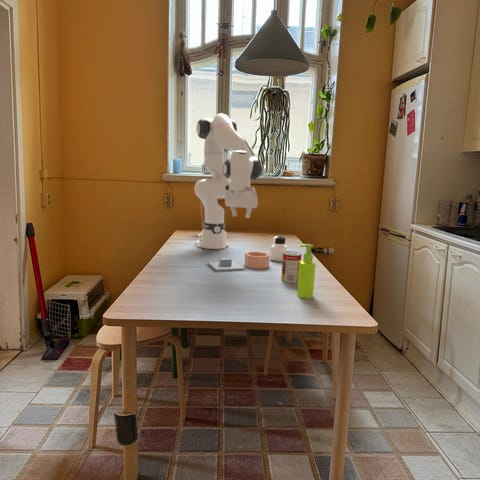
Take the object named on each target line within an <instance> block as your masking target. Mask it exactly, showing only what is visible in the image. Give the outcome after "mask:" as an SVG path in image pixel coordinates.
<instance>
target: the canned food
mask: <svg viewBox="0 0 480 480" xmlns="http://www.w3.org/2000/svg"><path fill="white" fill-rule="evenodd" d="M302 255H303V254H302V252H299V251H293V250H287V251H285V252H283V261H281V262H282V263H281V264H282V266H281V278H280V279H281V281H282V282H284V283H290V284H298V279H299V265H300V261H302Z"/></svg>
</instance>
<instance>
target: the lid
mask: <svg viewBox="0 0 480 480" xmlns="http://www.w3.org/2000/svg"><path fill="white" fill-rule="evenodd" d="M218 260H219V261H214V262H213V261H212V262H211V261H210V262H207V264H208V265H209V266H210V267H212V268H213V269H214V270H215V271H216V272H219V271H236V270H243V268H244V267H243V266H241V265H240V264H239V263H238V262H236V261H235V260H232V258H230V257H221V258H219V259H218ZM238 264H239V265H238ZM236 272H237V271H236ZM219 273H220V272H219Z"/></svg>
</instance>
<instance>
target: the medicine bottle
mask: <svg viewBox="0 0 480 480" xmlns="http://www.w3.org/2000/svg"><path fill="white" fill-rule="evenodd" d="M285 251H288V246H287V245H286V237H284V236H282V235H281V236H280V235H279V236H274V237H273V244H272V245H271V246H270V252H269V253H270V254H269V255H270V259H269V261H276V262H283V252H285Z"/></svg>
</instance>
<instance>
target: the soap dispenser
mask: <svg viewBox="0 0 480 480" xmlns="http://www.w3.org/2000/svg"><path fill="white" fill-rule="evenodd" d="M297 245H298V247H299V248H302V247H305V248H306V251H305V252H304V253H303V259H302V260H301V261H300V265H299V279H298V283H297V294H296V295H297V296H298V298H301V299H312V298H313V297H314V286H315V276H316V266H317V265H316V262H315V261H313V258H314V254H313V253H312V248H314V245H313V244H312V243H311V244H310V243H300V244H297Z"/></svg>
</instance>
